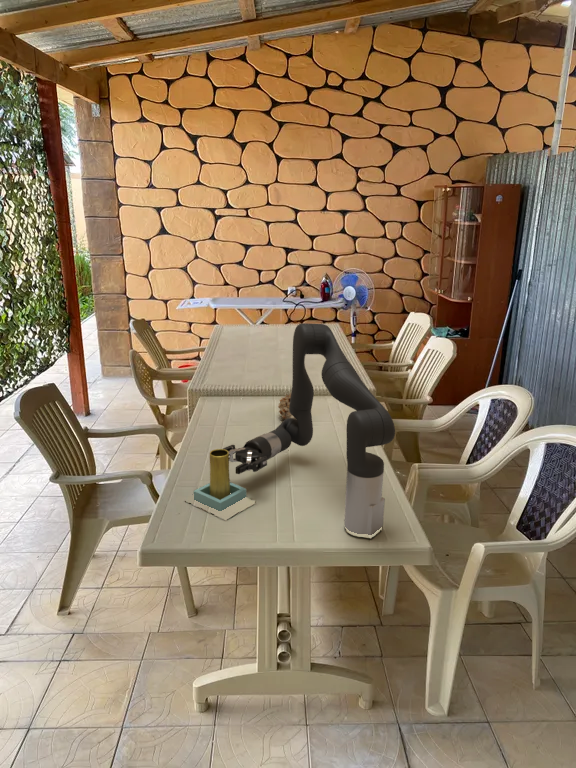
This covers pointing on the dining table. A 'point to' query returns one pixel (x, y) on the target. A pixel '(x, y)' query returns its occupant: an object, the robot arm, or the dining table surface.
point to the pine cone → (285, 407)
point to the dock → (205, 498)
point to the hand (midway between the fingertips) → (225, 466)
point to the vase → (219, 473)
